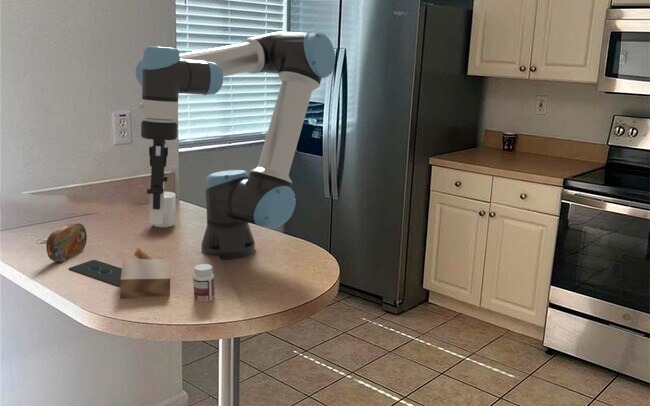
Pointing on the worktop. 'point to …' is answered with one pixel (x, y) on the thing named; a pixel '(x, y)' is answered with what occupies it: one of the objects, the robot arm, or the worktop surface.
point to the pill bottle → (203, 283)
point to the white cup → (168, 210)
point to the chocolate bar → (141, 254)
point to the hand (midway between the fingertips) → (156, 216)
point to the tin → (66, 242)
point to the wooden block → (145, 278)
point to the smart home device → (100, 271)
